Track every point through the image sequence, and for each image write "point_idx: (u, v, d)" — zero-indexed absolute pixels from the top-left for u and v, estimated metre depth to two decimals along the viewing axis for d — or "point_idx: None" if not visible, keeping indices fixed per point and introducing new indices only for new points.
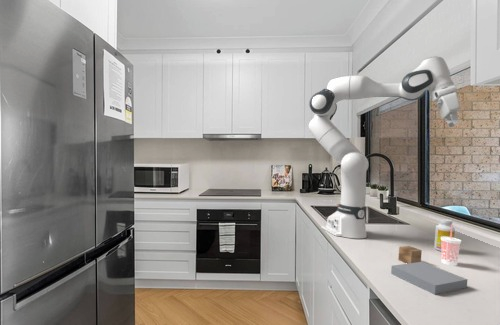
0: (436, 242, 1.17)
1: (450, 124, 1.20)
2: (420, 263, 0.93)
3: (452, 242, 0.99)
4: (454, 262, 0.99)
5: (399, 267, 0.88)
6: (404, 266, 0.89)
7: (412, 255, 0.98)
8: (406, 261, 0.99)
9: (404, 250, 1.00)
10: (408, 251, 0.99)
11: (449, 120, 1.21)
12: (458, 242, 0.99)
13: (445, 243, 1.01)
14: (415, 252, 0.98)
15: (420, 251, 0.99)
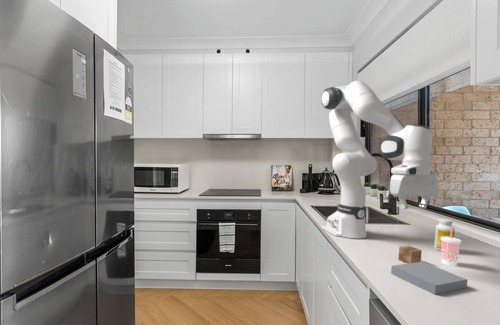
0: (436, 242, 1.17)
1: (420, 204, 1.02)
2: (420, 263, 0.93)
3: (452, 242, 0.99)
4: (454, 262, 0.99)
5: (399, 267, 0.88)
6: (404, 266, 0.89)
7: (412, 255, 0.98)
8: (406, 261, 0.99)
9: (404, 250, 1.00)
10: (408, 251, 0.99)
11: (424, 200, 1.02)
12: (458, 242, 0.99)
13: (445, 243, 1.01)
14: (415, 252, 0.98)
15: (420, 251, 0.99)
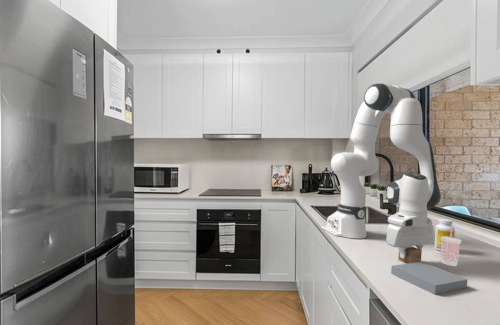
0: (436, 242, 1.17)
1: None
2: (420, 263, 0.93)
3: (452, 242, 0.99)
4: (454, 262, 0.99)
5: (399, 267, 0.88)
6: (404, 266, 0.89)
7: (412, 255, 0.98)
8: (406, 261, 0.99)
9: None
10: (408, 251, 0.99)
11: None
12: (458, 242, 0.99)
13: (445, 243, 1.01)
14: (415, 252, 0.98)
15: (420, 251, 0.99)
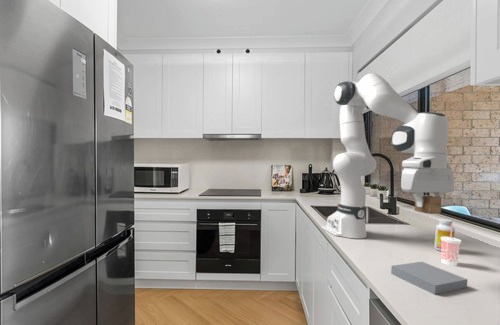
0: (436, 242, 1.17)
1: None
2: (420, 263, 0.93)
3: (452, 242, 0.99)
4: (454, 262, 0.99)
5: (399, 267, 0.88)
6: (404, 266, 0.89)
7: (431, 202, 0.86)
8: (424, 210, 0.87)
9: None
10: (426, 198, 0.87)
11: None
12: (458, 242, 0.99)
13: (445, 243, 1.01)
14: (434, 199, 0.86)
15: (440, 198, 0.87)
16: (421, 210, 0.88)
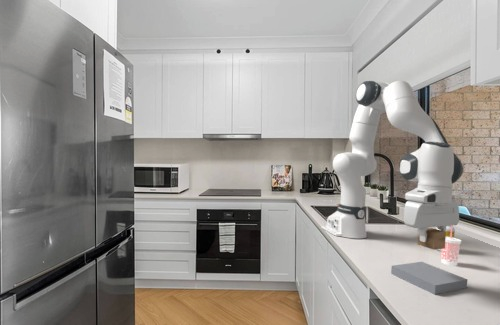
0: None
1: None
2: (420, 263, 0.93)
3: (452, 242, 0.99)
4: (454, 262, 0.99)
5: (399, 267, 0.88)
6: (404, 266, 0.89)
7: (435, 237, 0.82)
8: (428, 245, 0.83)
9: None
10: (430, 233, 0.83)
11: None
12: (458, 242, 0.99)
13: (445, 243, 1.01)
14: (438, 234, 0.83)
15: (444, 233, 0.83)
16: (424, 245, 0.84)
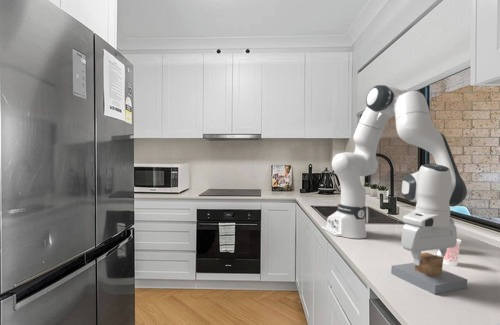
0: None
1: None
2: None
3: None
4: (454, 262, 0.99)
5: (399, 267, 0.88)
6: (404, 266, 0.89)
7: (432, 264, 0.82)
8: (425, 271, 0.84)
9: (422, 258, 0.85)
10: (427, 259, 0.83)
11: (441, 252, 0.87)
12: (458, 242, 0.99)
13: None
14: (435, 261, 0.83)
15: (441, 259, 0.84)
16: (421, 271, 0.85)
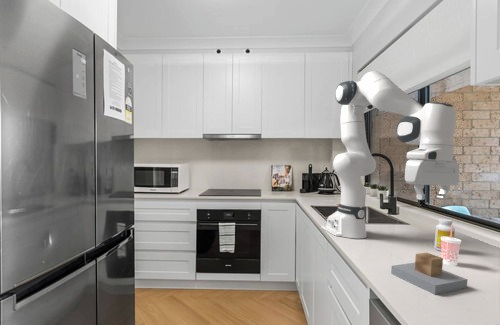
0: (436, 242, 1.17)
1: (438, 195, 0.89)
2: None
3: (452, 242, 0.99)
4: (454, 262, 0.99)
5: (399, 267, 0.88)
6: (404, 266, 0.89)
7: (432, 264, 0.82)
8: (425, 271, 0.84)
9: (422, 258, 0.85)
10: (427, 259, 0.83)
11: (443, 190, 0.89)
12: (458, 242, 0.99)
13: (445, 243, 1.01)
14: (435, 261, 0.83)
15: (441, 259, 0.84)
16: (421, 271, 0.85)
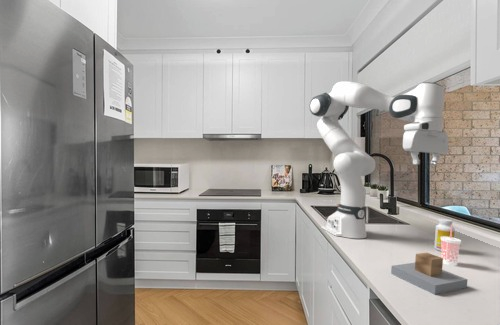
0: (436, 242, 1.17)
1: (431, 161, 1.05)
2: None
3: (452, 242, 0.99)
4: (454, 262, 0.99)
5: (399, 267, 0.88)
6: (404, 266, 0.89)
7: (432, 264, 0.82)
8: (425, 271, 0.84)
9: (422, 258, 0.85)
10: (427, 259, 0.83)
11: (435, 157, 1.05)
12: (458, 242, 0.99)
13: (445, 243, 1.01)
14: (435, 261, 0.83)
15: (441, 259, 0.84)
16: (421, 271, 0.85)
